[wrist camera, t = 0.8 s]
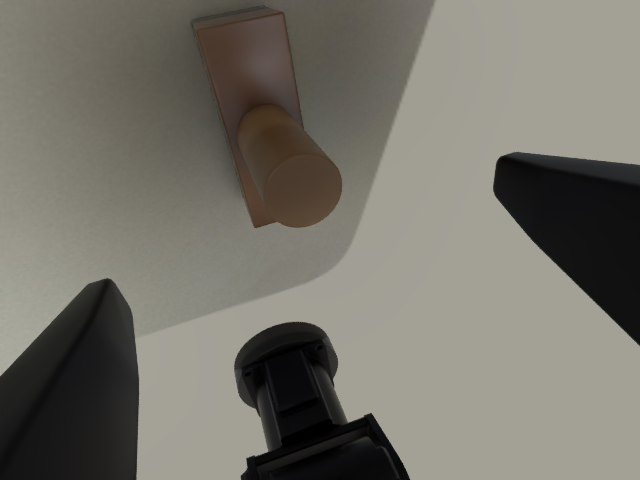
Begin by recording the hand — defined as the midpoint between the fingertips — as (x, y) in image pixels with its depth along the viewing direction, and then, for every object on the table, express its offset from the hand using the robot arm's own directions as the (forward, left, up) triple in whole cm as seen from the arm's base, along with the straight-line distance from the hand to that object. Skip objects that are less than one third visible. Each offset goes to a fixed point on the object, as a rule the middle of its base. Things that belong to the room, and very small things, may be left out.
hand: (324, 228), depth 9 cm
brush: (-1, 0, -11) cm, 11 cm away
